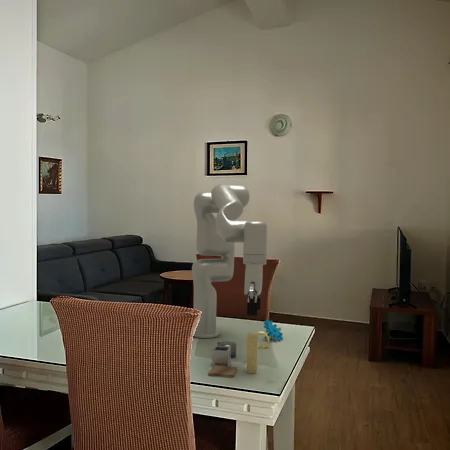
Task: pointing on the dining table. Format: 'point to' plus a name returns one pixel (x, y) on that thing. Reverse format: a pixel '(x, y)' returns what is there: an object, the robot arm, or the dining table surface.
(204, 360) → the dining table surface
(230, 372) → the board
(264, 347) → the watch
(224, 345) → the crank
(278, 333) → the gear
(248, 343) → the tan wooden bar
